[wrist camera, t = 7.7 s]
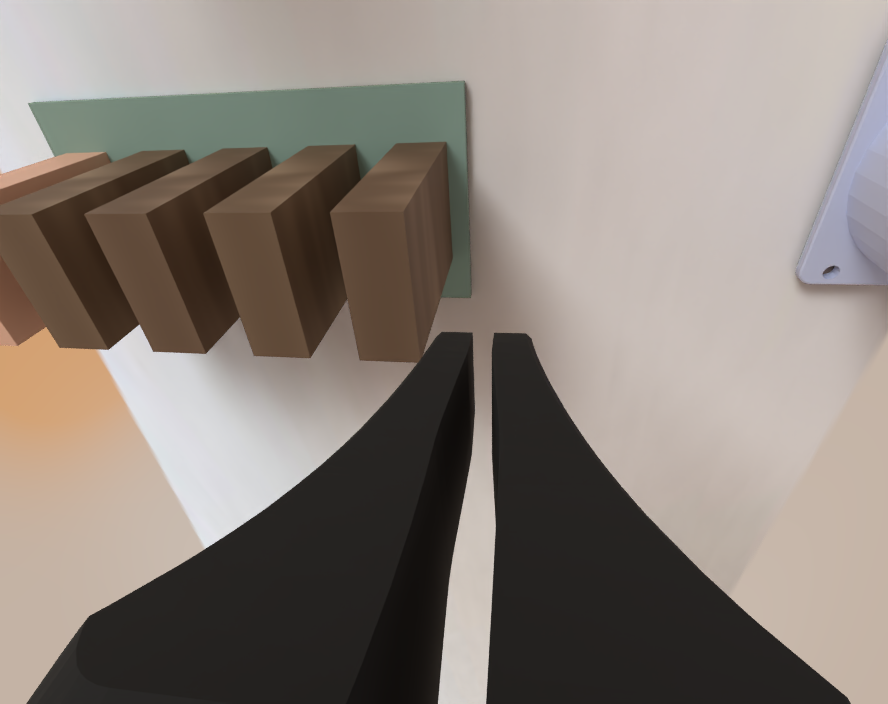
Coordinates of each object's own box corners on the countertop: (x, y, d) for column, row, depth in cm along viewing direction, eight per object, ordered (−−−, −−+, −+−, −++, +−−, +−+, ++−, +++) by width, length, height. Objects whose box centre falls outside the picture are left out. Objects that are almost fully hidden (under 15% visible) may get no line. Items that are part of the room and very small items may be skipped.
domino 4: (446, 141, 17) (403, 211, 11) (452, 258, 19) (420, 362, 14) (396, 143, 17) (329, 212, 11) (409, 258, 20) (360, 360, 14)
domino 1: (184, 149, 18) (31, 214, 13) (222, 256, 21) (108, 349, 15) (142, 150, 19) (-26, 214, 13) (184, 256, 21) (59, 347, 16)
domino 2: (267, 147, 18) (145, 213, 12) (295, 257, 20) (205, 353, 15) (222, 148, 18) (83, 214, 12) (256, 256, 21) (153, 351, 15)
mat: (464, 80, 16) (463, 82, 16) (471, 294, 21) (470, 297, 20) (34, 102, 18) (27, 103, 18) (126, 287, 23) (122, 290, 23)
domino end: (105, 151, 19) (-75, 215, 13) (152, 256, 21) (17, 345, 16) (66, 153, 19) (-126, 215, 14) (116, 255, 22) (-29, 343, 16)
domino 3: (355, 144, 17) (270, 212, 12) (372, 257, 20) (310, 358, 14) (307, 145, 18) (203, 213, 12) (331, 257, 20) (254, 355, 15)
